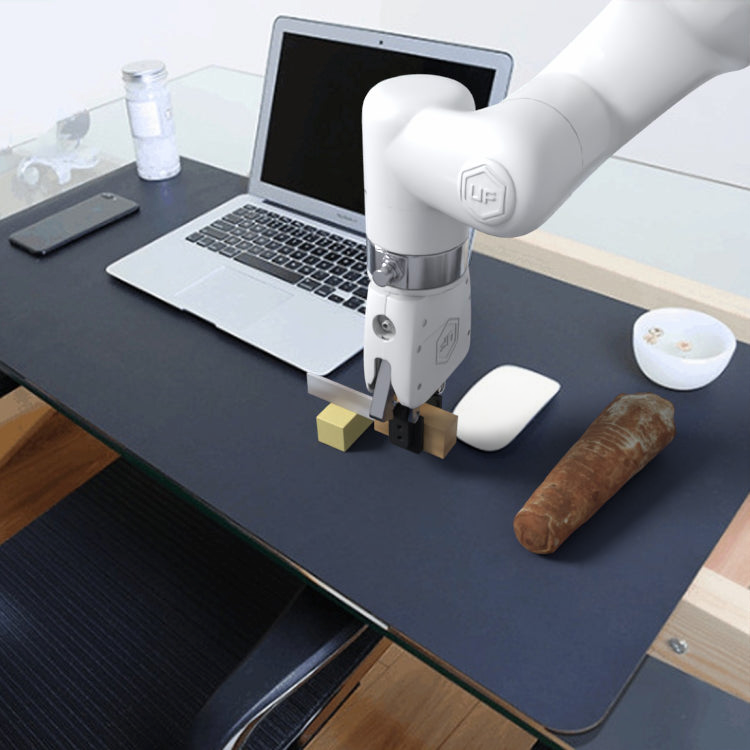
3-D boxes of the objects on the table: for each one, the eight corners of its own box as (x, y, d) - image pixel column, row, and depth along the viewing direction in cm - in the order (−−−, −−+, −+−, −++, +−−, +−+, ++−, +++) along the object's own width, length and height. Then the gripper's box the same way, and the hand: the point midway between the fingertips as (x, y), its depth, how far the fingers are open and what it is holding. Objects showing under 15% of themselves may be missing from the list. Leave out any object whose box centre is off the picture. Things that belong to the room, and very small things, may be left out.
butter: (347, 411, 78) (346, 387, 76) (373, 421, 76) (373, 397, 74) (318, 441, 74) (316, 416, 72) (344, 452, 73) (343, 428, 71)
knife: (301, 399, 74) (299, 372, 72) (316, 385, 76) (314, 358, 74) (443, 459, 68) (445, 431, 66) (456, 442, 70) (458, 415, 68)
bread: (674, 452, 72) (688, 405, 69) (550, 575, 62) (559, 527, 58) (613, 420, 76) (623, 374, 72) (486, 531, 65) (491, 484, 62)
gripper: (405, 320, 52) (405, 511, 63) (509, 221, 63) (493, 400, 74) (312, 289, 55) (328, 476, 67) (426, 200, 66) (423, 374, 77)
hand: (415, 435), depth 70 cm, fingers closed on knife, 2 cm apart
